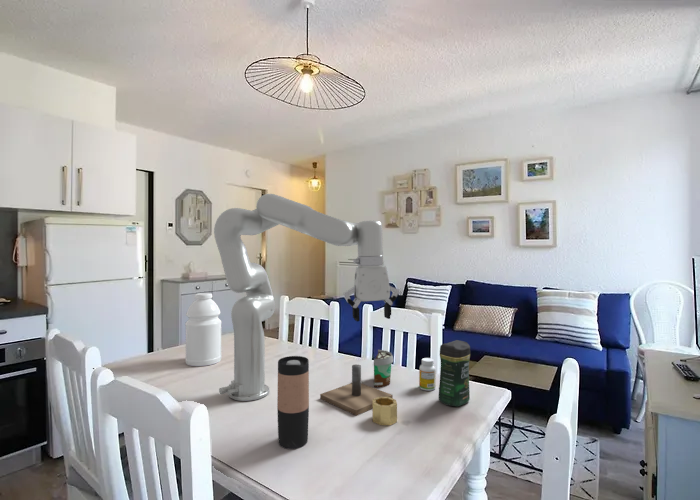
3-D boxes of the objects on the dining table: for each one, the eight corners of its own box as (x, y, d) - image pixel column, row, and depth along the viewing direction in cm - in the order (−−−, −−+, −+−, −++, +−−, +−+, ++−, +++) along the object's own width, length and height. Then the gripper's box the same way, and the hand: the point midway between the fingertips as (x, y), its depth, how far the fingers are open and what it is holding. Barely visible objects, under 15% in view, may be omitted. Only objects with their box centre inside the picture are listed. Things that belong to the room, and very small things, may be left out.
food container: (391, 390, 124) (391, 360, 124) (373, 388, 126) (373, 359, 126) (394, 377, 137) (395, 350, 136) (378, 376, 138) (378, 349, 138)
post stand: (356, 415, 106) (356, 378, 106) (320, 398, 117) (320, 365, 117) (392, 399, 117) (392, 366, 117) (356, 385, 128) (356, 355, 128)
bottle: (208, 354, 164) (208, 290, 164) (228, 360, 156) (228, 293, 156) (178, 362, 153) (178, 294, 152) (197, 369, 144) (197, 297, 144)
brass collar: (385, 427, 99) (385, 409, 99) (367, 419, 104) (367, 401, 104) (401, 419, 104) (401, 401, 103) (383, 412, 108) (383, 394, 108)
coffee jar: (457, 410, 110) (457, 347, 110) (434, 401, 116) (435, 341, 115) (474, 401, 116) (474, 341, 116) (451, 393, 122) (452, 336, 122)
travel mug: (279, 434, 95) (279, 356, 95) (309, 433, 96) (309, 355, 96) (275, 450, 88) (275, 365, 88) (308, 449, 88) (308, 365, 88)
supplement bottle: (423, 383, 130) (423, 356, 130) (438, 387, 127) (438, 359, 127) (416, 388, 126) (416, 360, 126) (431, 392, 123) (431, 363, 123)
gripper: (346, 263, 106) (347, 324, 106) (402, 261, 111) (404, 319, 111) (339, 263, 113) (341, 319, 113) (392, 260, 118) (394, 315, 118)
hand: (372, 319), depth 112 cm, fingers open, 9 cm apart
